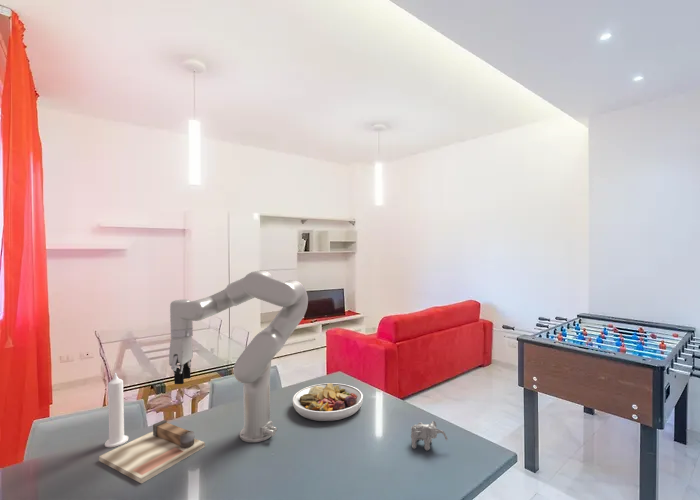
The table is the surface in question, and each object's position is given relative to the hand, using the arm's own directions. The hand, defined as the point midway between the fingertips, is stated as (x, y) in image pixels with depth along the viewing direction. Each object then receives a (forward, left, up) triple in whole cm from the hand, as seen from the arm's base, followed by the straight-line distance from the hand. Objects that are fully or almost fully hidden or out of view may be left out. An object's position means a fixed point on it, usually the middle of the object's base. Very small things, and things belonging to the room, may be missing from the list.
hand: (182, 380), depth 134 cm
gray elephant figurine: (-84, -34, -20) cm, 93 cm away
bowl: (-37, -43, -20) cm, 60 cm away
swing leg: (-5, +7, -18) cm, 20 cm away
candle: (+15, +16, -20) cm, 29 cm away
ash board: (-4, +14, -19) cm, 24 cm away
